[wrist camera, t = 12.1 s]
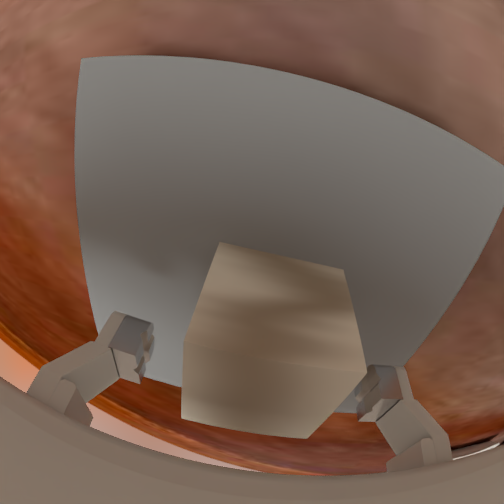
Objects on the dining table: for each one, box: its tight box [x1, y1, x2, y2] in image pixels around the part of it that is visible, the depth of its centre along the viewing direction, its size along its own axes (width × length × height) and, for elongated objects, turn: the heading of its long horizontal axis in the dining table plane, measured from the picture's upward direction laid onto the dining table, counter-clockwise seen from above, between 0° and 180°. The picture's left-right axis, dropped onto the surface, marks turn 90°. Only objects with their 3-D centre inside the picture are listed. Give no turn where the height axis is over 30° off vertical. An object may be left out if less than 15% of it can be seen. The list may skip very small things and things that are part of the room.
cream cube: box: [181, 242, 367, 439], centre depth 10 cm, size 5×5×5 cm
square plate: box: [451, 441, 500, 460], centre depth 45 cm, size 27×27×4 cm
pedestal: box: [75, 55, 504, 413], centre depth 15 cm, size 18×18×6 cm
